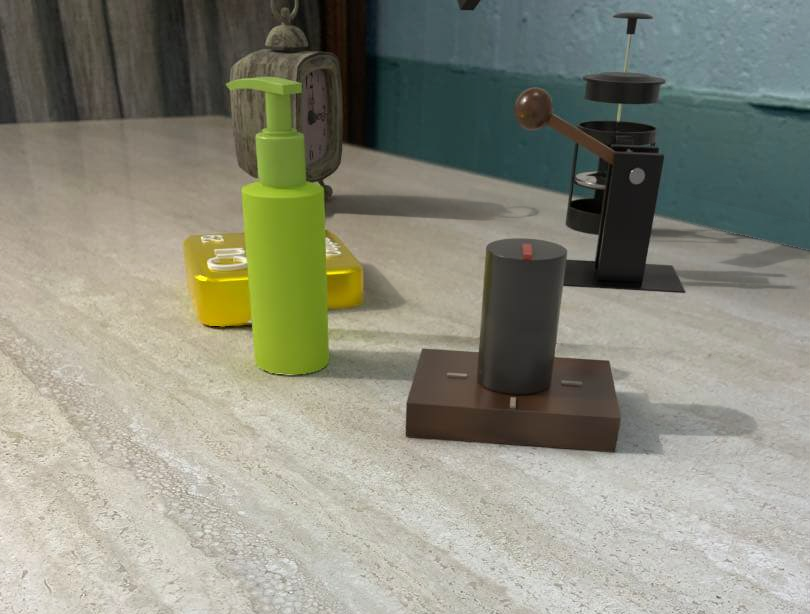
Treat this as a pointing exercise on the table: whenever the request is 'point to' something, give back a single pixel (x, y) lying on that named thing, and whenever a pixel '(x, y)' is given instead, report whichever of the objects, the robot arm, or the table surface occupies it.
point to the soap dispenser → (285, 242)
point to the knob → (520, 314)
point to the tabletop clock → (292, 100)
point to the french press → (611, 130)
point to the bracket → (626, 228)
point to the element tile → (229, 286)
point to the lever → (554, 121)
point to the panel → (513, 405)
